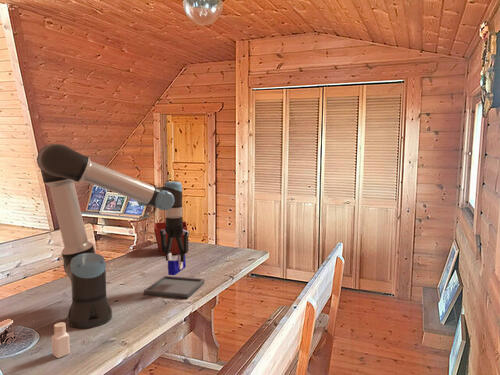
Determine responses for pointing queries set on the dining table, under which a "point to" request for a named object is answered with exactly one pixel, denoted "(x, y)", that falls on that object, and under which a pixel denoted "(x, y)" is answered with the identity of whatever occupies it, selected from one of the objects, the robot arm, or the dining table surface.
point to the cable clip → (175, 266)
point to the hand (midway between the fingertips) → (175, 268)
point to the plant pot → (174, 244)
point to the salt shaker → (60, 341)
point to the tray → (174, 287)
